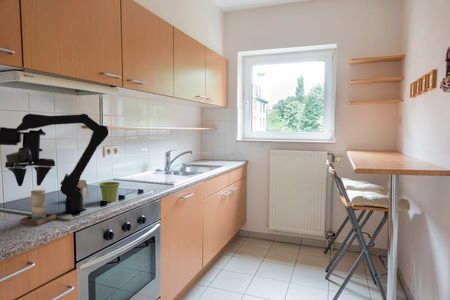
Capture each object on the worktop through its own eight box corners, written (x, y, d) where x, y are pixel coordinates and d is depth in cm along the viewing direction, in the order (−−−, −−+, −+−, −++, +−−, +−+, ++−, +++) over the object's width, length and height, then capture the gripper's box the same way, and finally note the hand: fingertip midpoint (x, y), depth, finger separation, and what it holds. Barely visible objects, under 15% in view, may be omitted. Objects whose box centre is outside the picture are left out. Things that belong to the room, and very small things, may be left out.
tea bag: (77, 198, 147) (76, 178, 146) (88, 199, 145) (88, 179, 144) (71, 200, 143) (71, 179, 143) (83, 201, 141) (82, 180, 141)
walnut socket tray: (38, 217, 115) (38, 212, 115) (56, 219, 113) (55, 214, 113) (20, 223, 107) (20, 218, 107) (38, 225, 105) (38, 220, 105)
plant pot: (110, 197, 149) (110, 181, 148) (124, 200, 145) (123, 182, 144) (94, 201, 141) (94, 183, 140) (108, 204, 136) (108, 185, 136)
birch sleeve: (39, 217, 113) (38, 189, 112) (48, 218, 112) (48, 190, 111) (28, 221, 108) (27, 191, 108) (38, 222, 107) (38, 192, 107)
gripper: (-8, 144, 110) (-11, 186, 108) (31, 141, 105) (28, 185, 103) (20, 148, 121) (18, 186, 119) (56, 145, 116) (55, 185, 114)
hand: (29, 185), depth 113 cm, fingers open, 9 cm apart
